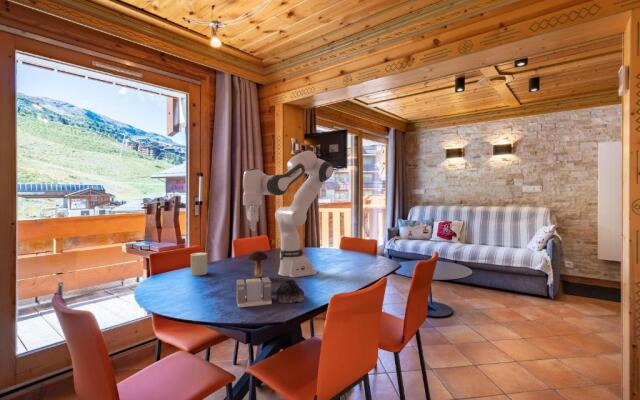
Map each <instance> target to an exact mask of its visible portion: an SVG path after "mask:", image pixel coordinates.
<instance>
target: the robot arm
mask: <svg viewBox="0 0 640 400" xmlns="http://www.w3.org/2000/svg"><path fill="white" fill-rule="evenodd" d="M286 167H287V171H285V172H284V173H282V174H275V175H268V174H266V173H264V172H263V171H262V170H261V169H260V168H258V167H257V168H256V167H255V168H248V169H246V170H244V172H243V175H242V176H243V177H242V189H243V194H242V205H243V206H245V213H246V218H247V220H248V225H249V229H250V230H251V231H252V232H257V231H256V229H257V223H258V222H259V209H260V206H262V205H263V204H262V203H263V202H262V195H266V196H277V197H278V196H280V197H281V196H283V195H284V194H285V193H286V192H287V191H288V189H290V187H291V185H293V183H295V182H296V181H297V180H299V179H300V178H301V177H302V176H303V175H305V174H306V175H308V178H307V179H306V180H305V181H303V183H302V184H301V185H300V186H299V189H298V190H297V191H296V192H295V193H294V195H293V200H292V203H291V204H290V206H285V205H284V206H281V207H279V208H277V209H276V211H275V214H274V217H275V218H274V219H275V220H276V222H277V225H278V230H279V234H280V250H279V259H280V262H279V269H278V275H279V276H282V277H289V278H299V277H305V276H306V277H307V276H312V275H313V276H314V275H317V273H318V271H317V270H316V269H315V268H314V266H313V263H312V261H311V260H310V259H308V257H306V256H305V255H306V251H305V250H304V249H301V244H300V243H301V240H300V239H301V237H300V233H299V232H298V230H297V227H301V226H303V225H304V224H305V223H306V221H307V217H308V215H307V213H308V210H309V208H310V206H311V204H312V203H313V202H314V200H315V199H316V198H317V196H318V194H319V193H320V191H321V190H322V187H323V185H324V182H326V181H328V180H329V178H331V177H332V175H333V173H334V165H333V164H332V163H331V162H329V161H327V160H324V159H321V158H317V154H316V153H315V152H314V151H313V150H305V151H301V152H300V153H297V154H295V155H294V156H293V157H291V158H290V159H289V160H288V161H287V162H286Z"/></svg>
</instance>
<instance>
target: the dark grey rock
mask: <svg viewBox="0 0 640 400" xmlns="http://www.w3.org/2000/svg"><path fill="white" fill-rule="evenodd" d="M275 296H276V301H278V302H279V303H282V304H294V303H298V302H302V301H304V299H305V292H304V290H303V289H302V288H300V286H299V285H298V284H297V283H296V281H295V280H294V279H293V278H292V279H285V280H282V281H281V283H280V284H279V287H278V288H277V289H276V290H275Z"/></svg>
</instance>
